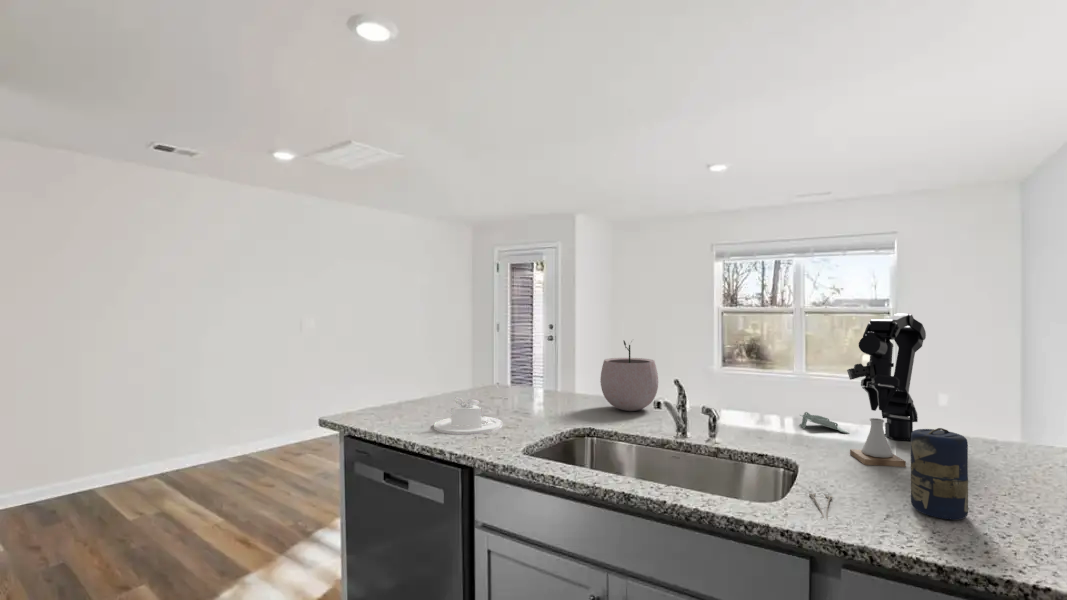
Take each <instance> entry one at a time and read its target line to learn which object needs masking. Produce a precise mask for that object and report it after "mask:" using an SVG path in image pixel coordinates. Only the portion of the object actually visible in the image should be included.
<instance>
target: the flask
mask: <svg viewBox="0 0 1067 600" xmlns="http://www.w3.org/2000/svg"><path fill="white" fill-rule="evenodd" d="M869 421H870V429H869V433H868V436H867V437H866V441H865V442H864V445H863V446H862V448H861V450H862V451H861V452H863V453H864V454H866V455H870V456H873V457H883V458H888V457H894V456H893V454H894V453H893V451H892V450H891V447H890V445H889V442H888V439H887V436H885V429H884V426H883V425H884V424H883V423H885V420H884V419H883V418H882V419H881V418H875V417H874V418H873V417H872V418H869Z"/></svg>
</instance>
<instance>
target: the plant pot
mask: <svg viewBox="0 0 1067 600" xmlns="http://www.w3.org/2000/svg"><path fill="white" fill-rule="evenodd" d="M632 342H633V340H631V342H630V343H629V344H628V347H627V346H626V345H627V343H626V341H625V340H623V345H624V347H625V349H626V350H627V351H628V357H614V358H613V357H612V358H605V359H604V360H603V362H602V366H601V371H600V381H599V382H600V387H601V392H602V394H603V396H604V398H605V400H606V401H607V402H608V404H610V405H611V406H612V407H614V408H616V409H619V410H621V411H626V412H634V411H636V412H637V411H640V410H643V409H645V408H647V407H648V406H649V405H651V404H652V403H653V401H654V400H655V397H656V396H657V392H658V389H659V376H658V375H659V374H658V369H657V365H656V362H655V359H650V358H643V357H641V358H639V357H631V343H632Z"/></svg>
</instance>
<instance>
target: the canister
mask: <svg viewBox="0 0 1067 600" xmlns="http://www.w3.org/2000/svg"><path fill="white" fill-rule="evenodd" d="M968 442H969V441H968V439H967V438H966V436H964V435H962V434H959V433H956V432H953V431H949V430H948V429H945V428H942V427H938V428H935V429H933V428H918V429H915V430H914V429H913V432H912V433H911V441H910V504H911V506H912V507H913V508H914V509H915V510H916V511H918V512H920V513H922V514H924V515H927V516H930V517H934V518H939V519H944V520H953V521H954V520H963V519H965V518H966V517H967V516H968V514H969V473H968V471H969V470H968V468H969V458H968V457H969V454H968V453H969V445H968Z"/></svg>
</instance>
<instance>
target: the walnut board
mask: <svg viewBox="0 0 1067 600" xmlns="http://www.w3.org/2000/svg"><path fill="white" fill-rule="evenodd" d="M861 451H862V449H855V448H853V449H852V448H851V449H849V455H850V456H852V457H853V458H854V459H855V460H857V461H859V462H861V463H862V464H863V465H866V466H882V467H885V466H886V467H901V468H902V467H904V468H905V467H907V463H906V460H905V459H903V458H901V457H899V456H898V455H896V454H894V453H893V456H894V457H888V458H883V457H873V456H870V455H866V454H864V453H863V452H861Z"/></svg>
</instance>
